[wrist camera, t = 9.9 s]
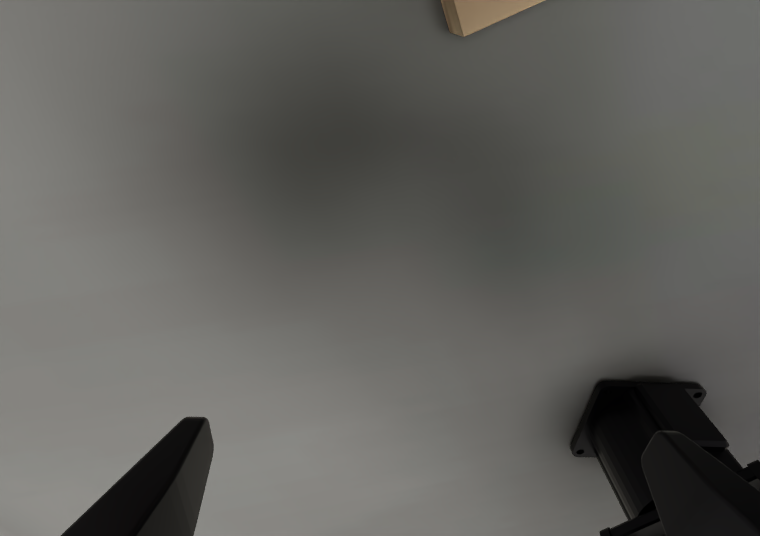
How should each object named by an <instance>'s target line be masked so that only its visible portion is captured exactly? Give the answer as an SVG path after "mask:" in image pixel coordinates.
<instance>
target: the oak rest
mask: <svg viewBox="0 0 760 536" xmlns="http://www.w3.org/2000/svg"><path fill="white" fill-rule="evenodd" d="M542 1H545V0H441V4H442V7H443V10H444V14H445V17H446V21H447V24H448V27H449V31H450V33H453V34H456V35H459V36H463V37H465V36H467V35H469V34H472V33H474V32H476V31H478V30H481V29H483V28H485V27H487V26H489V25H492V24H494V23H496V22H498V21H500V20H503V19H505V18H507V17H509V16H511V15H514V14H516V13H518V12H520V11H523V10H525V9H527V8H529V7H531V6H534V5H536V4H538V3H540V2H542Z"/></svg>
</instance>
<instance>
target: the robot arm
mask: <svg viewBox="0 0 760 536" xmlns="http://www.w3.org/2000/svg"><path fill="white" fill-rule="evenodd" d="M706 394H707V393H706V391H705V389H704V388H703V387H702V386H701V385H698V384H676V383H648V382H620V381H604V382H601V383H599V384H598V385H597V387H596V389H595V391H594V394H593V396H592V398H591V400H590V403H589V405H588V407H587V410H586V412H585V414H584V416H583V419H582V421H581V423H580V426H579V428H578V430H577V432H576V435H575V437H574V439H573V442H572V444H571V446H570V449H571V451H572V454H573V455H574V456H576V457H597V459H598V461H599V463H600V465H601V467H602V469H603V471H604V473H605V475H606V477H607V479H608V481H609V483H610V485H611V487H612V489H613V491H614V493H615V495H616V497H617V499H618V501H619V503H620V505H621V507H622V509H623V511H624V513H625V515H626V517H627V519H628V521H626V522H624V523H622V524H620V525H617V526H615V527H613V528H611V529H610V528H609V527H608V528H606V529H604V530H601V531H600V536H760V462H759V460H756V461H754V462H751V463H749V464H747V465H748V467H746V468H744V469H743V468H742V466H741V465H740V464H739V463H738V462H737V460H736V459H735V458H734V457H733V455H732V454H731V453H730V452H729V450H728V449H727V448H728V447H729V444H728V442H727V440H726V439H725V438H724V437H723V436H722V434H721V433H720V432H719V431H718V429H717V428H716V427H715V426H714V424H713V423H712V422H711V421H710V420H709V418H708V417H707V416H706V415H705V413H704V412H703V411H702V410H701V409H700V407H699V406H700V404H701V402H702V401H703V399H704V398H705V396H706ZM213 450H214V445H213V439H212V435H211V430H210V425H209V421H208V419H207V418H205V417H186V418H184V419H182V420H181V421H180V422H179V423H178V424H177V425H176V426H175V427H174V428H173V429H172V430H171V431H170V432H169V433H168V434H167V435H166V436H164V437H163V438H162V439H161V440H160V441H159V442H158V443H157V444H156V445H155V446H154V447H153V448H152V449H151V450H150V451H149V452H148V453H147V454H146V455H145V456H144V457H143V458H141V459H140V460H139V461H138V462H137V463H136V464H135V465H134V466H133V467H132V468H131V469H130V470H129V471H128V472H127V473H126V474H125V475H124V476H123V477H122V478H121V479H119V480H118V481H117V482H116V483H115V484H114V485H113V486H112V487H111V488H110V489H109V490H108V491H107V492H106V493H105V494H104V495H103V496H102V497H101V498H100V499H99V500H98V501H96V502H95V503H94V504H93V505H92V506H91V507H90V508H89V509H88V510H87V511H86V512H85V513H84V514H83V515H82V516H81V517H80V518H79V519H78V520H77V521H76V522H74V523H73V524H72V525H71V526H70V527H69V528H68V529H67V530H66V531H65V532H64V533H63V534H62V535H61V536H193V535H194V531H195V527H196V523H197V519H198V515H199V511H200V507H201V503H202V499H203V494H204V490H205V486H206V482H207V478H208V474H209V469H210V465H211V461H212V457H213Z"/></svg>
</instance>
